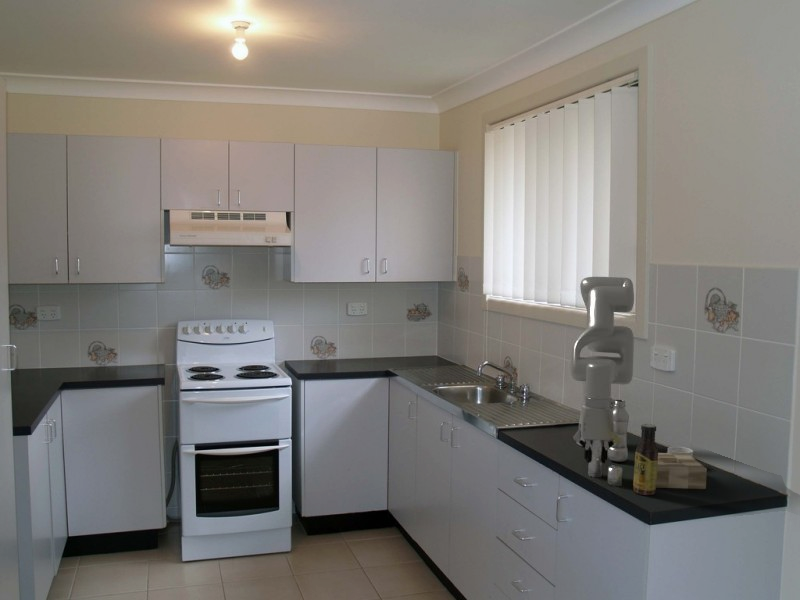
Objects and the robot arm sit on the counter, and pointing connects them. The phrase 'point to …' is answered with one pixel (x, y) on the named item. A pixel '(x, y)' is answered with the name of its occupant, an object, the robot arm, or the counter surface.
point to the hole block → (680, 472)
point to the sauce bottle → (646, 462)
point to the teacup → (680, 450)
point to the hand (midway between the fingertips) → (595, 461)
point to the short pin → (614, 475)
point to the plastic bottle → (619, 432)
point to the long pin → (595, 458)
